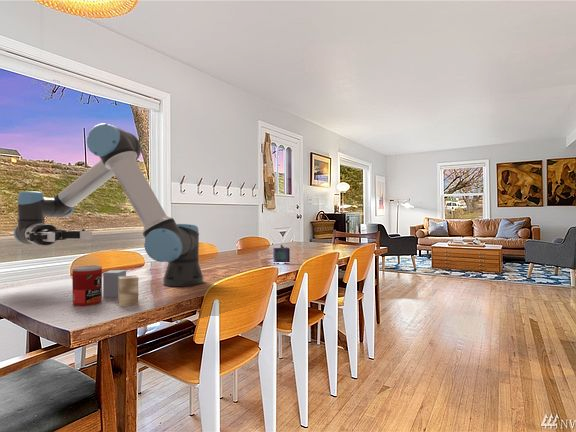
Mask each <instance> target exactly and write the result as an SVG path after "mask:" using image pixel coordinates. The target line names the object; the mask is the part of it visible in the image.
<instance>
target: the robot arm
mask: <svg viewBox="0 0 576 432" xmlns="http://www.w3.org/2000/svg"><path fill="white" fill-rule="evenodd" d="M86 145H87V148H88V149H89V150H88V151H90V152H91V153H92V154H93V155H95V156H96V157H99V159H100V160H99V161H98V162H96V163H95V164H94V165H93V166H91V167H89V169H88V170H86V171H85V172H84V173H83V174H82V175H80V176H79V177H77V178H76V179H75V180H74V181H73V182H71V183H70V184H68V186H66V187H65V188H63V190H61V191H59V193H57V194H56V195H55V196H53V197H44V193H43V192H42V191H34V190H33V191H32V190H24V191H23V190H22V191H19V193H18V197H17V226H16V227H15V228H14V230H13V237H14V239H15V240H16V241H17V242H20V243H22V244H26V245H36V246H37V247H40V246H49V245H50V246H51V245H53V244H55V243H56V242H57V241H64V240H65V241H66V240H68V239H79V240H87V241H88V240H89V241H92V240H93V231H89V230H86V229H85V228H84V229H81V230H66V229H58V228H57V227H56V226H54V225H53V224H50V223H44V217H45V218H49V217H51V218H56V217H57V218H63V217H69V216H71V215H72V214H73V212H74V210H75V206H77V205H78V204H80V202H82V201H84V199H86V198H87V197H88V196H90V195H91V194H92V193H94V192H95V191H96V190H98V189H99V188H100V187H101V186H102V185H104V184H105V183H107V182H108V181H109V180H111V179H112V178H113V177H116V179H117V181H118V183H119V184H120V186H121V189H122V190H123V192H124V194H125V195H126V197H127V199H128V201H129V203H130V204H131V206H132V208H133V211H134V212H135V214H136V215H137V217H138V218H139V221H140V222H141V224H142V226H143V231H142V235H143V237H144V244H143V245H144V250H145V253H146V254H147V256H149V258H150V259H152V260H154V261H156V262H159V263H167V266H166V269H165V273H164V275H163V279H162V280H163V281H162V284H163V285H164V286H166V287H167V286H168V287H189V286H196V285H200V284H202V283H203V282H204V276H203V271H202V269H201V266H200V262H199V259H200V258H199V254H200V253H199V250H200V249H199V246H200V241H199V239H200V237H199V236H200V233H199V227H198V226H197V225H195V224H188V223H176V221H175V219H174V218H173V217H170V216H167V214H166V212H165V210H164V208H163V207H162V205H161V203H160V200H159V199H158V198H157V195H156V194H155V192H154V190H153V189H152V187H151V186H150V184H149V182H148V180H147V177H145V175H144V173H143V171H142V169H141V167H140V166H139V164H138V162H137V160H138V159H139V158H140V156H141V154H142V153H141V152H142V146H141V143H140V140H139V139H138V138H137V136H135V135H134V134H132V133H131V132H128V131H126V130H124V129H121V128H119V127H117V126H116V125H113V124H109V123H99V124H97V125H94V127H93V128H91V130H90V131H89V132H88V135H87V138H86Z"/></svg>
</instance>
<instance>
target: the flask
mask: <svg viewBox="0 0 576 432" xmlns="http://www.w3.org/2000/svg"><path fill="white" fill-rule="evenodd" d="M272 251H273V253H272V255H273V256H272V257H273V258H272V263H273V262H290V261H291V257H290V256H291V255H290V251H291V249H290V247H288V246H284V245H283V244H280V245H279V247H272ZM290 263H291V262H290Z"/></svg>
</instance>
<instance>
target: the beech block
mask: <svg viewBox="0 0 576 432" xmlns="http://www.w3.org/2000/svg"><path fill="white" fill-rule="evenodd" d="M117 299H118V300H117V302H118V305H119V307H127V306H133V305H134V306H135V305H139V276H137V275H136V274H135V275H134V274H133V275H126V276H121V277H118V297H117Z"/></svg>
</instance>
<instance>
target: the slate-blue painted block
mask: <svg viewBox="0 0 576 432" xmlns="http://www.w3.org/2000/svg"><path fill="white" fill-rule="evenodd" d="M121 276H127V270H125V269H124V270H123V269H121V270H119V269H117V270H116V269H115V270H114V269H112V270H111V269H110V270H108V271H105V272H102V298H118V277H121Z"/></svg>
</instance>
